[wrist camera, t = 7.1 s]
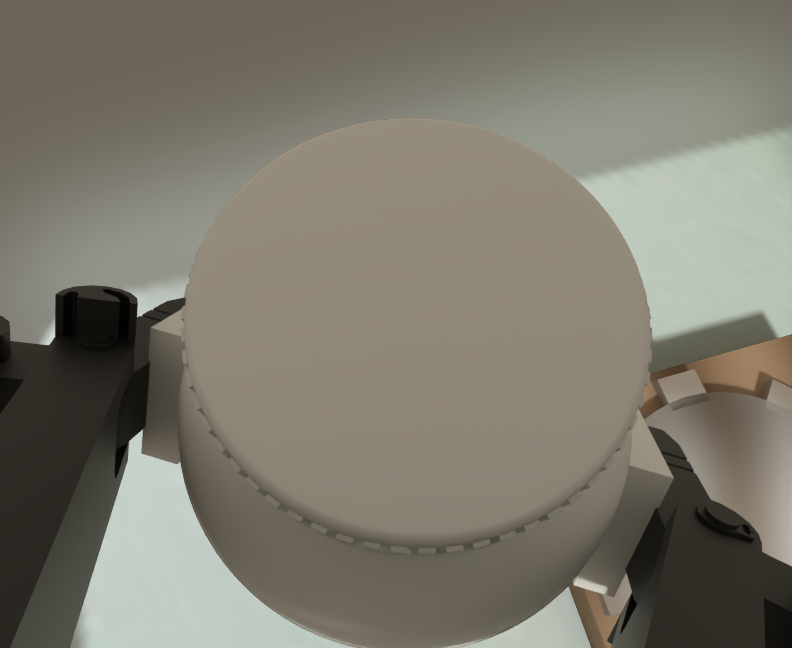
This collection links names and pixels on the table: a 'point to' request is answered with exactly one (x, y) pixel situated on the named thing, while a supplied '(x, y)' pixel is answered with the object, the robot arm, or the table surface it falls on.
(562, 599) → the table surface
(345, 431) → the pill bottle
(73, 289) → the robot arm
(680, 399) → the gear board
